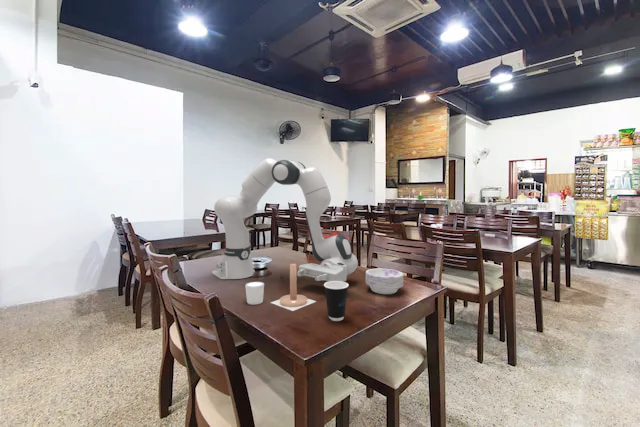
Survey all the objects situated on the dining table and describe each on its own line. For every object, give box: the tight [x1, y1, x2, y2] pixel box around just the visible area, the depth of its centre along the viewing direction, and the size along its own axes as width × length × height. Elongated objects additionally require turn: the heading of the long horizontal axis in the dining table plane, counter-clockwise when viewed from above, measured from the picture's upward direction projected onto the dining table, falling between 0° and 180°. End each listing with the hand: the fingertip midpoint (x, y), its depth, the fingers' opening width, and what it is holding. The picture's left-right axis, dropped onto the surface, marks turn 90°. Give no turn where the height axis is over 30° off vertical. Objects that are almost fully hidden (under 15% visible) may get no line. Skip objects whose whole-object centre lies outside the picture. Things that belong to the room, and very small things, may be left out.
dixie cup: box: [323, 281, 350, 322], centre depth 95 cm, size 8×8×11 cm
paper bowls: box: [365, 267, 404, 295], centre depth 122 cm, size 15×15×8 cm
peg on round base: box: [279, 263, 308, 307], centre depth 109 cm, size 10×10×14 cm
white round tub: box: [244, 281, 265, 306], centre depth 109 cm, size 7×7×7 cm
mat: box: [270, 298, 317, 312], centre depth 109 cm, size 12×12×1 cm
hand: (307, 276), depth 114 cm, fingers open, 8 cm apart
